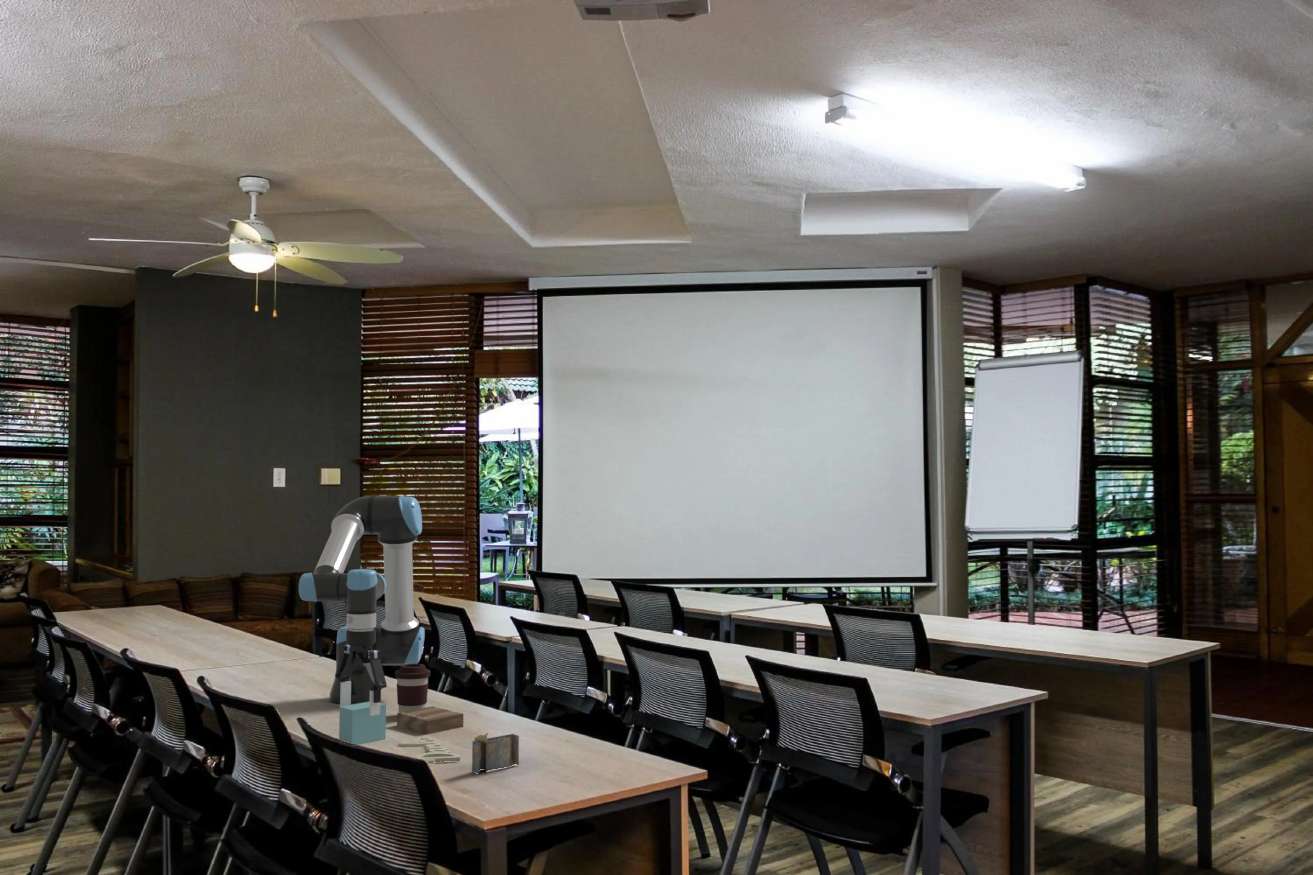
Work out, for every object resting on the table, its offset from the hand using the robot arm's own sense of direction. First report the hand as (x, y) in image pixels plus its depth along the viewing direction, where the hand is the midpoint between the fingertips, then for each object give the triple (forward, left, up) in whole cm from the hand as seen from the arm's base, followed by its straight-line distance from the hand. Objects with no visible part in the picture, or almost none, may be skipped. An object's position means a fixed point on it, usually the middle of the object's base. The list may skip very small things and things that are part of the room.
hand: (359, 710), depth 273 cm
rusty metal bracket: (+45, +8, -9) cm, 47 cm away
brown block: (0, +22, -8) cm, 24 cm away
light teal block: (0, +1, -8) cm, 8 cm away
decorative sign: (+21, +6, -9) cm, 24 cm away
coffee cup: (-14, +26, -8) cm, 31 cm away
